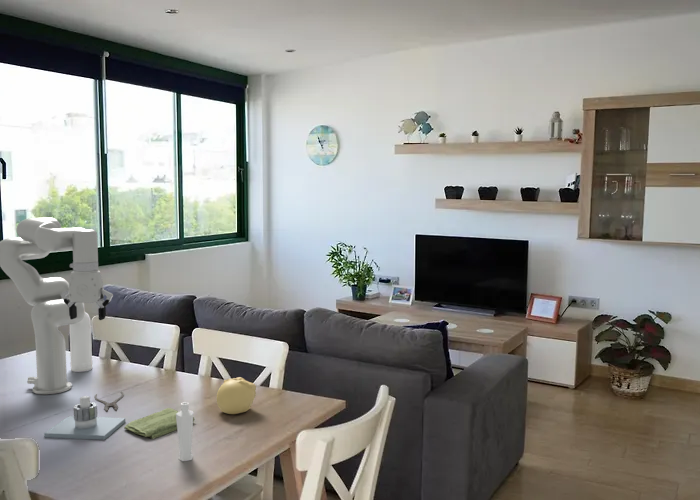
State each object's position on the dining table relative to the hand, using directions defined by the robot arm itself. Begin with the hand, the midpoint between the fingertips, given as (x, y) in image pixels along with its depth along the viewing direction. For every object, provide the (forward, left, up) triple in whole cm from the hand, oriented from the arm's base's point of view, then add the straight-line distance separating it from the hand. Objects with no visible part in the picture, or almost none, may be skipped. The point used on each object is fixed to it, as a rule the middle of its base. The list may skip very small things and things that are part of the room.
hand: (87, 318), depth 215 cm
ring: (+10, -23, -25) cm, 35 cm away
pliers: (+7, +2, -29) cm, 30 cm away
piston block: (+10, -23, -28) cm, 38 cm away
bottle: (-22, +37, -28) cm, 52 cm away
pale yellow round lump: (+50, -3, -28) cm, 58 cm away
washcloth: (+31, -19, -29) cm, 46 cm away
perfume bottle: (+46, -40, -28) cm, 67 cm away
